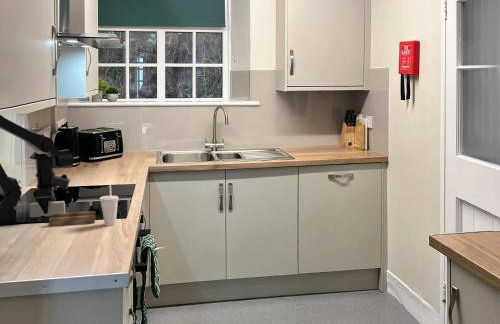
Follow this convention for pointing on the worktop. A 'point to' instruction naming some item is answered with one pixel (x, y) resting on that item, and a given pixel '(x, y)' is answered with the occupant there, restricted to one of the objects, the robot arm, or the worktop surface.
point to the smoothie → (109, 208)
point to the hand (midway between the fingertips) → (47, 211)
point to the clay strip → (52, 209)
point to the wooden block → (72, 218)
